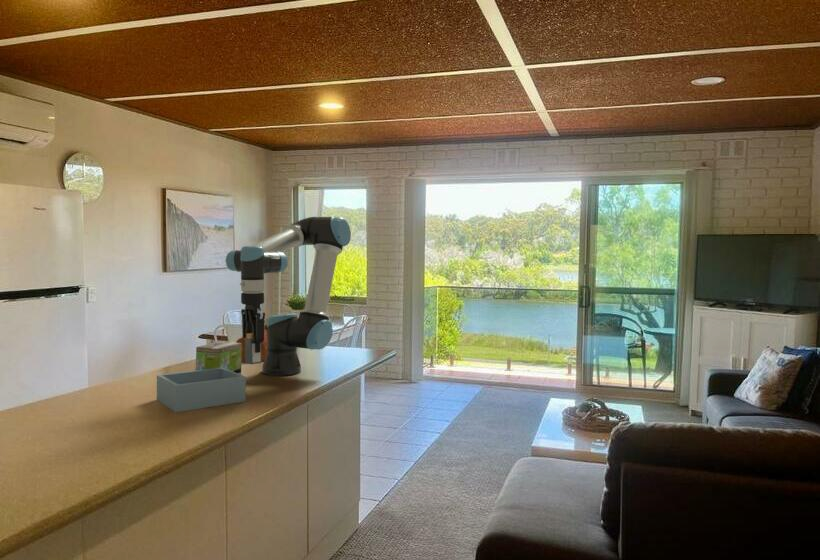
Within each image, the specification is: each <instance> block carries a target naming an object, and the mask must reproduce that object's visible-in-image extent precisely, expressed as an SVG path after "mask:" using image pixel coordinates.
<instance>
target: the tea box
mask: <svg viewBox="0 0 820 560" xmlns="http://www.w3.org/2000/svg"><path fill="white" fill-rule="evenodd" d="M195 348H196V350H195V351H196V353H195V371H196V370H205V369H214V368H222V367H223V368H226V369H228V370H231V371H233V372H235V373H238V374H240V375H242V361H241V360H242V343H236V342H229V341H216V342H211V343H207V344H202V345H200V346H196V347H195Z"/></svg>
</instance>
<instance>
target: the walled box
mask: <svg viewBox="0 0 820 560" xmlns="http://www.w3.org/2000/svg"><path fill="white" fill-rule="evenodd" d="M246 378H247V377H246V376H244V375H242V374H241V375H240V374H238V373H235V372H233V371H231V370H228V369H226V368H223V367H222V368H214V369H205V370H196V369H195V370H191V371H190V370H188V371H181V372H179V371H178V372H173V373H165V374H164V373H163V374H157V375H156V400H157V401H158V402H159V401H160V403H161V404H163V405H164V406H166V407H167V408H169V409H170V410H171V411H174V412H175V413H180V412H187V411H193V410H199V409H205V408H212V407H218V406H222V405H223V406H224V405H230V404H237V403H243V402H246V400H247V399H246V396H247V395H246V390H247V389H246V386H247V385H246V380H247V379H246Z"/></svg>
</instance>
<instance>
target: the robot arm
mask: <svg viewBox="0 0 820 560" xmlns="http://www.w3.org/2000/svg"><path fill="white" fill-rule="evenodd" d="M351 235H352V232H351V228H350V225H349V223H348V221H347V220H346V219H345V218H344V217H341V216H333V215H332V216H309V217H306V218H302V219H299V220H297V221H295V222H292V223H291V224H289V225H287V226H285V228H284V230H282V231H279V232H278V233H276V234H274V235H271V236H270V237H268V238H265V239H263V240H261V241H259V242H257V243H254V244H253V245H249V246H248V245H247V246H246V245H244V246H241V249H239V250H238V249H236V250H231V251H229V252H228V253H227V255H226V256H225V264H226V265H225V266H226V267H227V268H228V270H229V271H233V272H237V273H240V277H241V278H240V284H239V285H240V287H241V288H240V291H241V294H240V302H241V303H240V304H242V305H245V306H244V308H242V309H241V310H240V313H241V325H242V327H241V329H242V331H241V332H242V337H243V338H247V333H253V342H251V343H252V362H253V363H254V362H261V363H262V361H261V342H263V341H264V330H265V318H266V317H265V316H266V313H265V312H262V309H261V305H263V304H264V303H265V293H264V292H265V274H274V273H275V274H278V273H282V272H284V271H285V270H286V269H287V267H288V263H289V261H288V260H289V259H288V256H287V255H286V253H284V252H286V251H289V250H290V249H292V248H293V249H294V248H296V249H298V248H299V247H302V246H313V249H315V251H316V252H315V256H314V260H313V267H312V271H311V275H310V279H309V280H310V281H309V285H308V290H307V294H306V295H307V296H306V301H305V304H304V309H302V310H301V311H299V314H297V313H285V314H284V313H283V314H274V315H270V316H269V317H268V318H267V322H266V323H267V325H266V331H267V354H266V357H265V360H264V361H263V364H262V367H261V368H262V369H261V373H263V374H265V375H268V376H291V375H296V374H299V373H301V371H302V367H301V366H302V365H301V362H300V358H299V355H298V352H297V351H298V348H300V349H308V350H311V351H312V350H323V349H325V348H326V347H327V346H328V345H329V343H330V342H331V340H332V337H333V332H334V329H333V325H332V322H331V321H330V316H329V315H328V313H327V310H328V305H329V300H330V296H331V290H332V285H333V279H334V274H335V270H336V264H337V260H338V259H337V258H338V255H340V254H342V253H343V247H346V246H348V245H349V243H350V242H351V239H352V237H351Z"/></svg>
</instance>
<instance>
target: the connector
mask: <svg viewBox="0 0 820 560" xmlns="http://www.w3.org/2000/svg"><path fill="white" fill-rule="evenodd" d="M251 342H253V333H247V338H245V361H244V362H245V364H248V365H257V364H262V361H261V362H254V363H253V362H252V343H251Z"/></svg>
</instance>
